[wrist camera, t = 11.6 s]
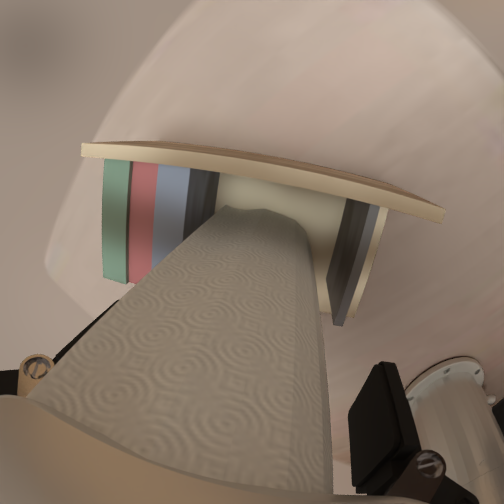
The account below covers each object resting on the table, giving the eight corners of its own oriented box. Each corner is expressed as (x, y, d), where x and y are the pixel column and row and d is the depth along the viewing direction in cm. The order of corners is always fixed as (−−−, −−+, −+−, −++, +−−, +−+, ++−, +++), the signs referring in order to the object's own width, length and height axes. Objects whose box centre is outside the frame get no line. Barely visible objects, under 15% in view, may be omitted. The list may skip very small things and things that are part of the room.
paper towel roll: (314, 277, 24) (329, 565, 4) (243, 286, 25) (148, 545, 5) (302, 191, 22) (342, 499, 2) (225, 204, 23) (1, 424, 3)
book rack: (158, 141, 24) (81, 143, 14) (388, 183, 22) (445, 209, 12) (149, 265, 28) (87, 319, 18) (351, 309, 26) (371, 388, 17)
